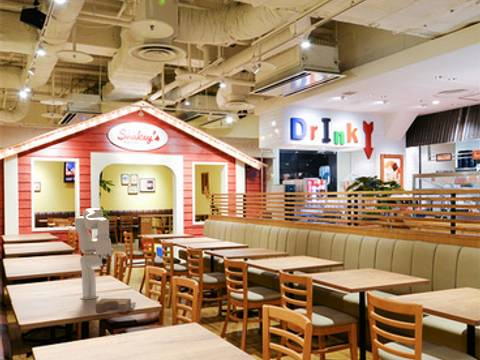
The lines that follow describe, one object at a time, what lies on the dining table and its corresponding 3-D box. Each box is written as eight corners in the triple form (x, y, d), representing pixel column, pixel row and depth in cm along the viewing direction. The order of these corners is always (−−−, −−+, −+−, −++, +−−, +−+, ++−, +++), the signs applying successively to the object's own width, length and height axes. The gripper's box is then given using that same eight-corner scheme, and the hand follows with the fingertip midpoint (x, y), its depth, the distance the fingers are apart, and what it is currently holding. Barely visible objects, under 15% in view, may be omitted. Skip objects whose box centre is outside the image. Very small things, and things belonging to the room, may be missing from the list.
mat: (105, 305, 320) (105, 304, 320) (135, 303, 323) (135, 302, 323) (102, 311, 304) (102, 310, 304) (133, 309, 307) (133, 308, 307)
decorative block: (95, 312, 301) (125, 312, 299) (95, 303, 300) (125, 303, 299) (101, 306, 312) (131, 306, 310) (101, 298, 311) (130, 298, 310)
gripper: (91, 238, 310) (91, 266, 310) (114, 237, 312) (115, 264, 312) (92, 237, 317) (93, 264, 317) (115, 236, 319) (116, 262, 319)
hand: (104, 264), depth 315 cm, fingers closed
